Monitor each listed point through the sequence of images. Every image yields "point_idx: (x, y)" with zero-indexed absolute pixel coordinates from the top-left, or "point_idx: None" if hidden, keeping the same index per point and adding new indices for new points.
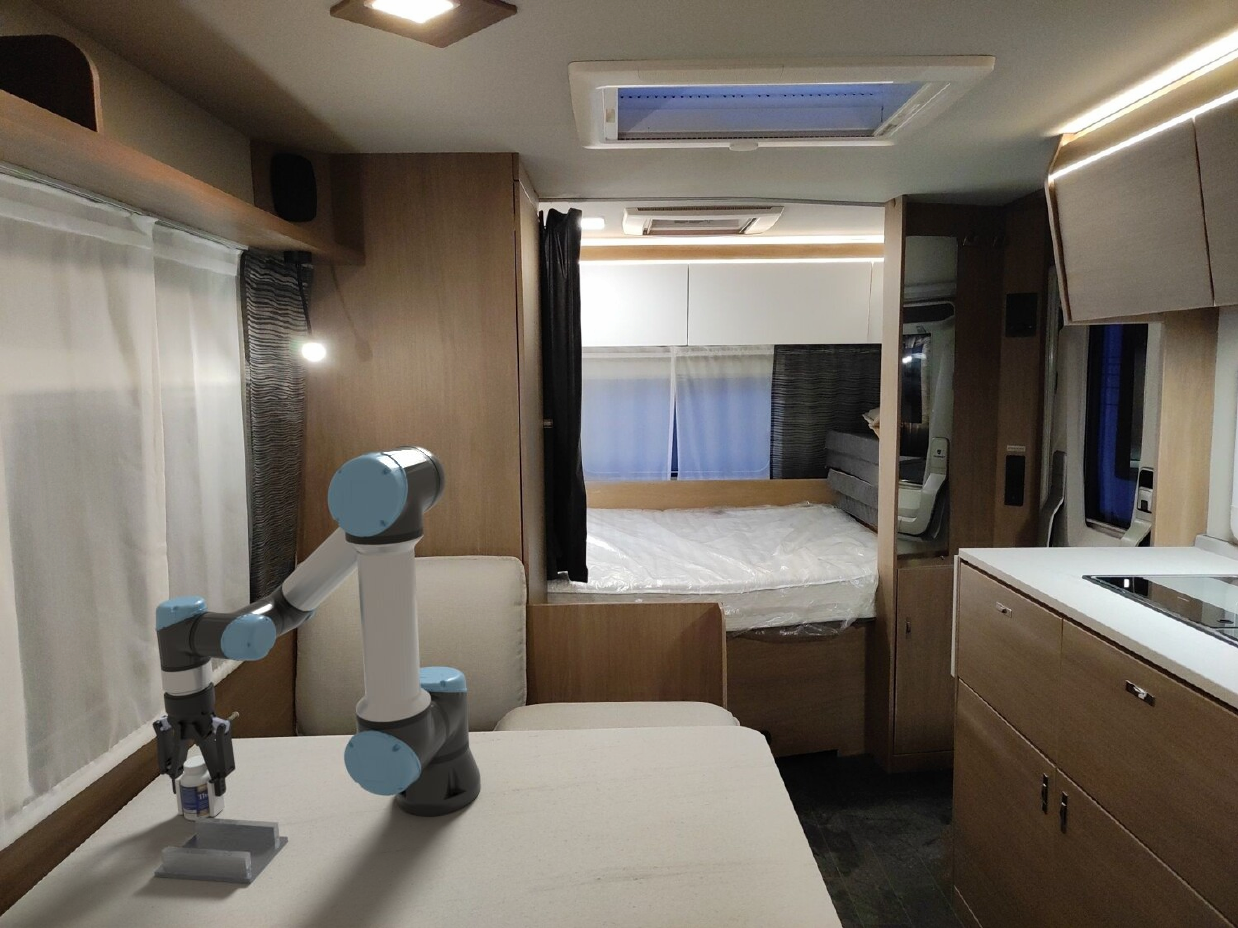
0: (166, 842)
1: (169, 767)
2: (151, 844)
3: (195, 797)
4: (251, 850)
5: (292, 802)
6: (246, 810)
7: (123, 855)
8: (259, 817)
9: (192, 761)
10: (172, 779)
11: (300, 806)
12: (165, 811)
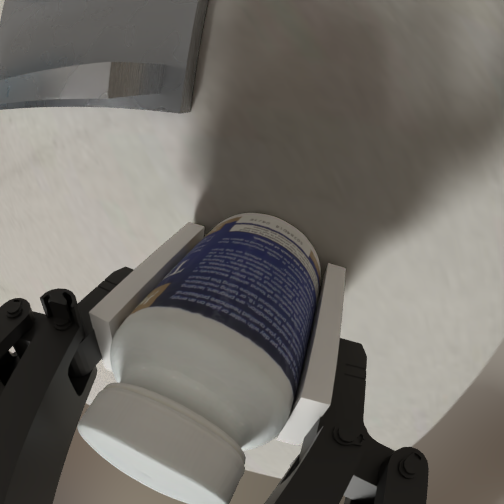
0: (307, 71)
1: (364, 486)
2: (371, 68)
3: (197, 262)
4: (20, 48)
5: (52, 253)
6: (120, 243)
7: (448, 22)
8: (73, 201)
9: (169, 483)
10: (357, 412)
11: (33, 233)
12: (407, 302)
